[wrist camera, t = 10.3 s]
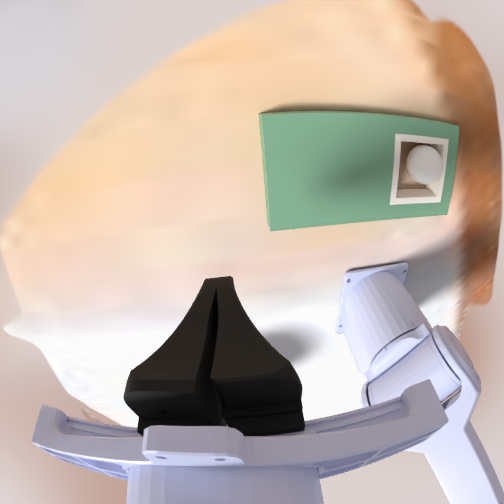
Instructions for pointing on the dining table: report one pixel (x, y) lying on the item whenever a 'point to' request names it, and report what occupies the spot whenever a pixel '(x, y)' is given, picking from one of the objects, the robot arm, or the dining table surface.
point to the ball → (424, 164)
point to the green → (348, 167)
